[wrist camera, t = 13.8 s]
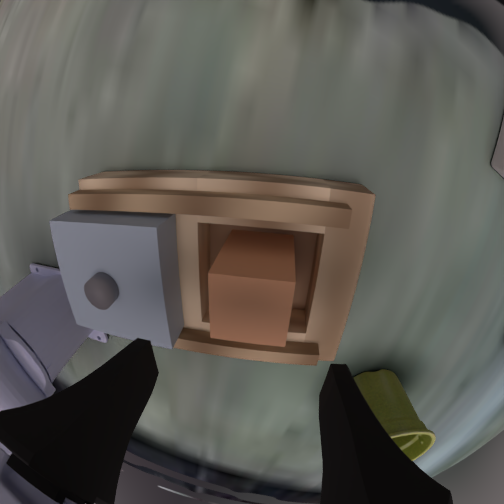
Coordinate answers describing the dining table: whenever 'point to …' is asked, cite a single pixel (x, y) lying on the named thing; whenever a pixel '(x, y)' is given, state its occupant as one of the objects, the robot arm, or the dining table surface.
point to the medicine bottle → (499, 153)
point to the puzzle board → (260, 220)
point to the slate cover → (121, 272)
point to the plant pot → (395, 412)
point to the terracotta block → (252, 288)
